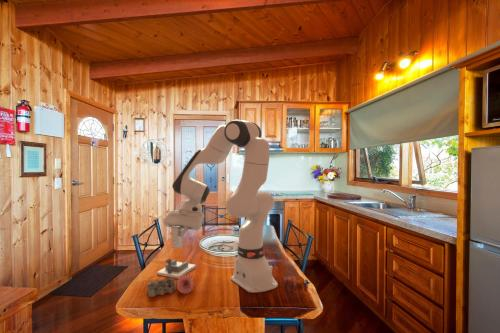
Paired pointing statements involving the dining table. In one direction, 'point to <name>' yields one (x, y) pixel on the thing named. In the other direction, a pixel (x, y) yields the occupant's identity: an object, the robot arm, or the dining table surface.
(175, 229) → the end link
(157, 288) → the egg carton
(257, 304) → the dining table surface
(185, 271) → the keeper board
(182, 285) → the flower
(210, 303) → the dining table surface
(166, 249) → the dining table surface
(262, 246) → the robot arm
